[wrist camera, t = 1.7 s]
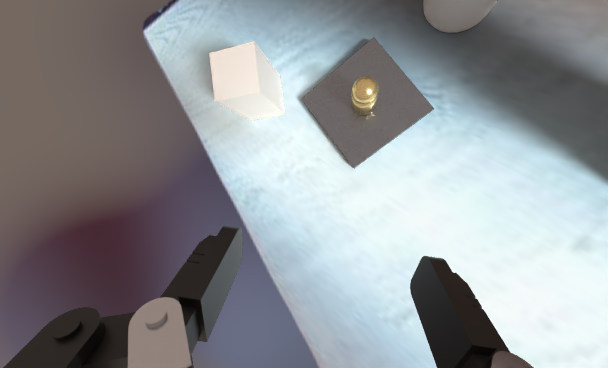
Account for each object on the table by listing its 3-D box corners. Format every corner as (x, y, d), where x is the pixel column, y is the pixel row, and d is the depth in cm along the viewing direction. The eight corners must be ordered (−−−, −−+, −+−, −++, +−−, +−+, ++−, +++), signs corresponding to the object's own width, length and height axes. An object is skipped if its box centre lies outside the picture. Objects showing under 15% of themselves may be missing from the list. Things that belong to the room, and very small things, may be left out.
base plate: (373, 43, 34) (378, 2, 26) (430, 111, 33) (454, 90, 25) (303, 102, 37) (288, 81, 29) (354, 168, 35) (353, 165, 27)
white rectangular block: (280, 76, 37) (254, 41, 28) (285, 114, 37) (259, 91, 28) (246, 84, 39) (209, 53, 29) (250, 120, 39) (214, 101, 29)
